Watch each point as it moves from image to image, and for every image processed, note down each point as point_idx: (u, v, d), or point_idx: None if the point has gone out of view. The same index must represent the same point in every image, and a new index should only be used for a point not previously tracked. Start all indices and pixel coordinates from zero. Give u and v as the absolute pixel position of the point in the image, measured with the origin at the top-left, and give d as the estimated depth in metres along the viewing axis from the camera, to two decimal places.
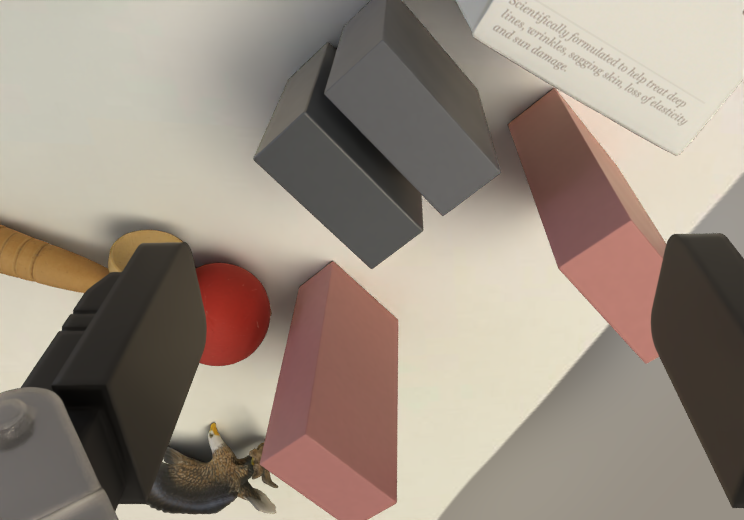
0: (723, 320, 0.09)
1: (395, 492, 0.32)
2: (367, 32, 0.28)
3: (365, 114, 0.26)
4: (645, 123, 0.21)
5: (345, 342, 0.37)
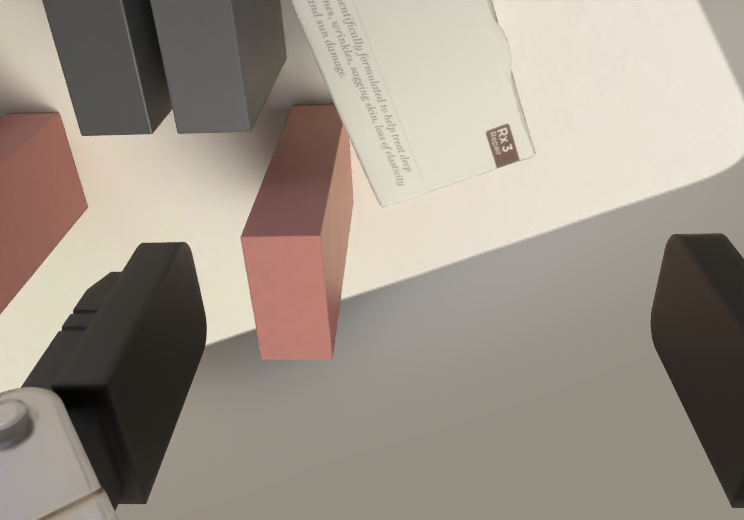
0: (723, 320, 0.09)
1: None
2: None
3: None
4: (374, 164, 0.23)
5: (16, 190, 0.34)
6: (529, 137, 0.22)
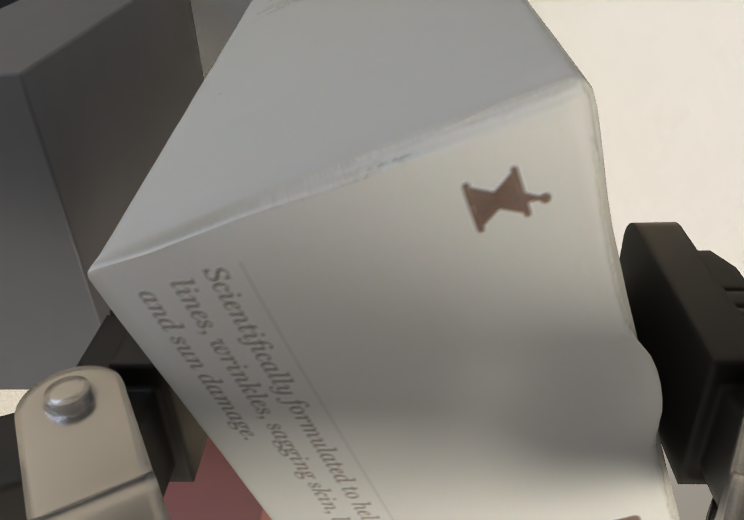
0: (670, 303, 0.09)
1: None
2: (54, 23, 0.14)
3: None
4: None
5: None
6: None
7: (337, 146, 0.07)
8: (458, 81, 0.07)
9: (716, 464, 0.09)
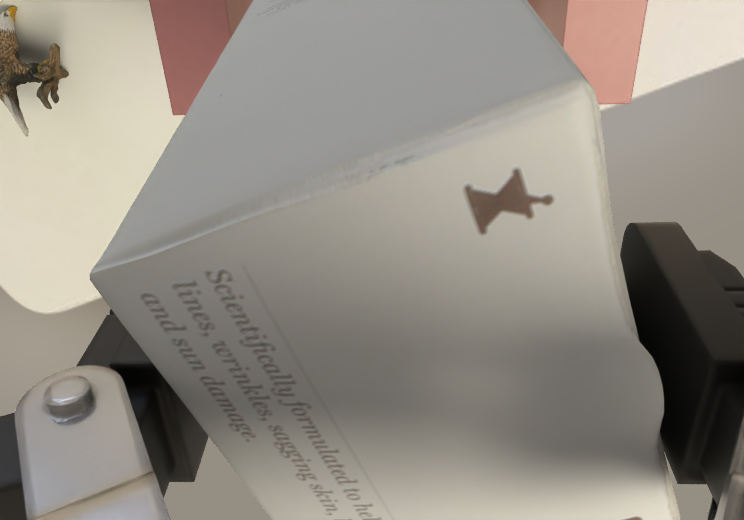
0: (670, 303, 0.09)
1: None
2: None
3: None
4: None
5: None
6: None
7: (340, 148, 0.07)
8: (459, 82, 0.07)
9: (716, 464, 0.09)
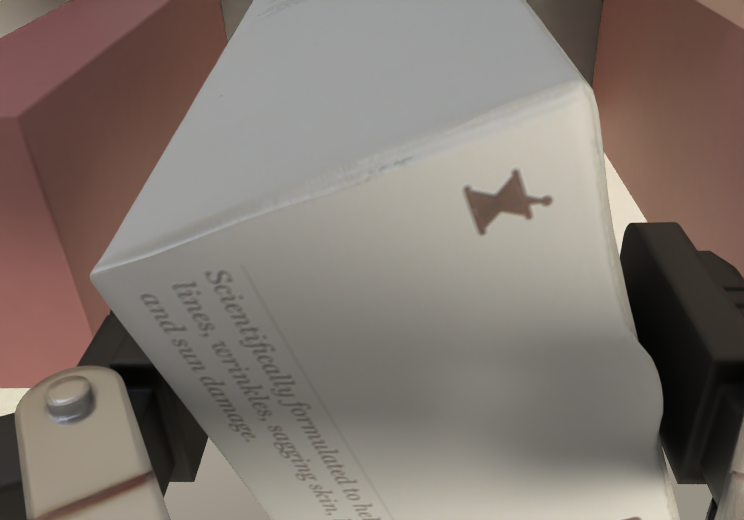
0: (670, 303, 0.09)
1: None
2: None
3: None
4: None
5: (174, 72, 0.19)
6: None
7: (339, 149, 0.07)
8: (459, 83, 0.07)
9: (716, 464, 0.09)
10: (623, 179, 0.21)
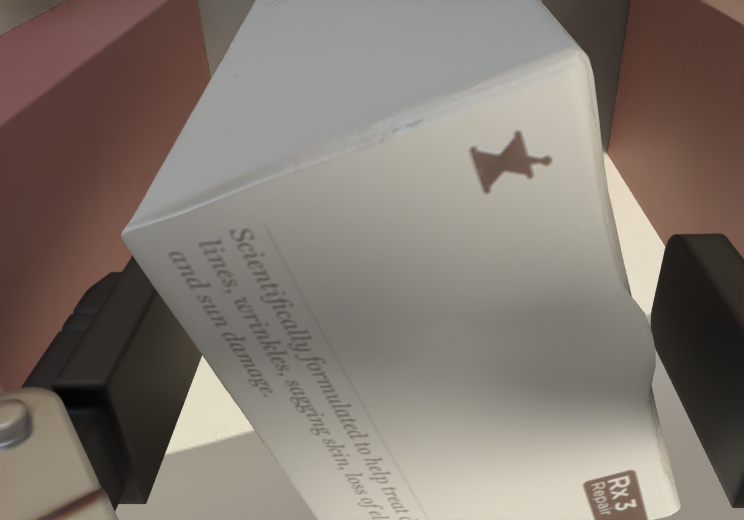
0: (723, 320, 0.09)
1: None
2: None
3: None
4: None
5: (140, 106, 0.16)
6: (672, 484, 0.11)
7: (354, 115, 0.08)
8: (465, 54, 0.08)
9: None
10: (653, 223, 0.19)
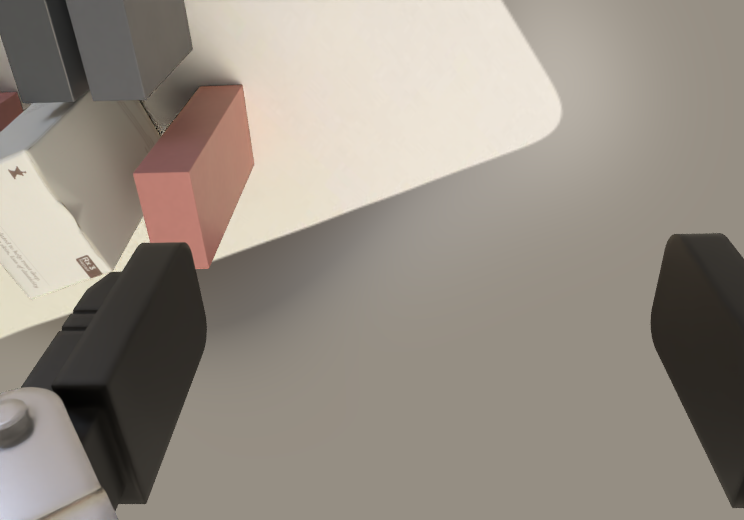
0: (723, 320, 0.09)
1: None
2: None
3: None
4: (17, 276, 0.38)
5: None
6: (104, 261, 0.38)
7: None
8: (14, 148, 0.35)
9: None
10: None
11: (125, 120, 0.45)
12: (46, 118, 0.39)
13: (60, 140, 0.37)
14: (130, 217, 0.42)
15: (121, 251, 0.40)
